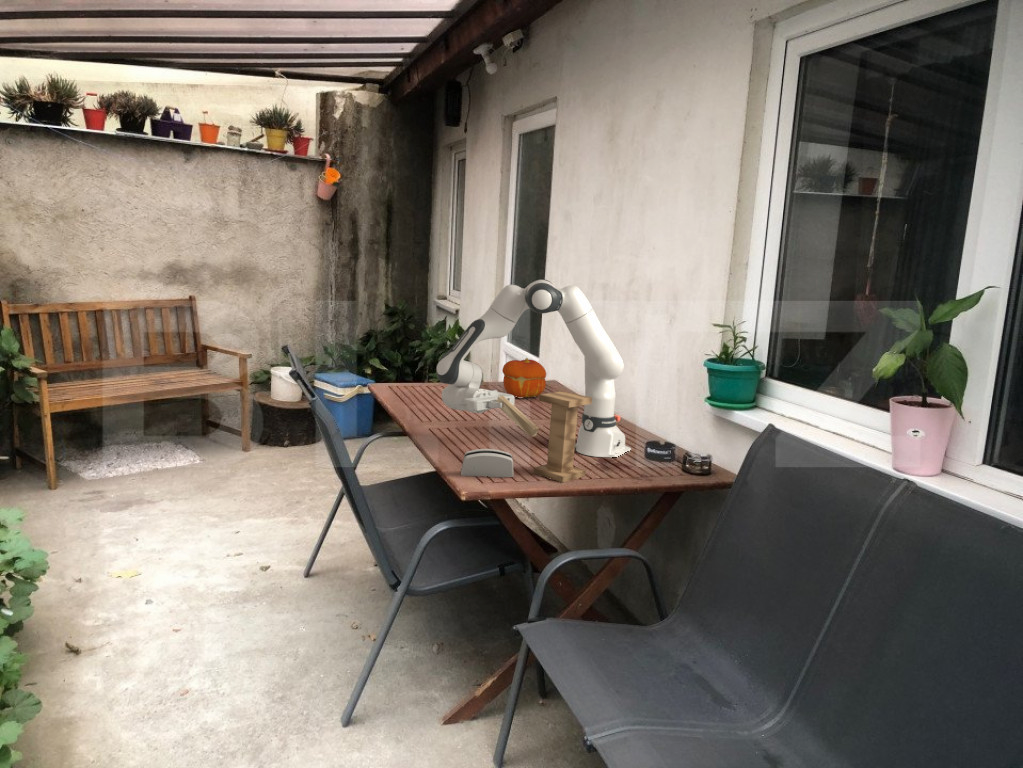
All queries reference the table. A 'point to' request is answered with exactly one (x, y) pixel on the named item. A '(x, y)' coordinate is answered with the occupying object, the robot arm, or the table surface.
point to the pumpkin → (524, 378)
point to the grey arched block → (487, 463)
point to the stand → (562, 436)
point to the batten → (518, 417)
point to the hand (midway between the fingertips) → (506, 404)
